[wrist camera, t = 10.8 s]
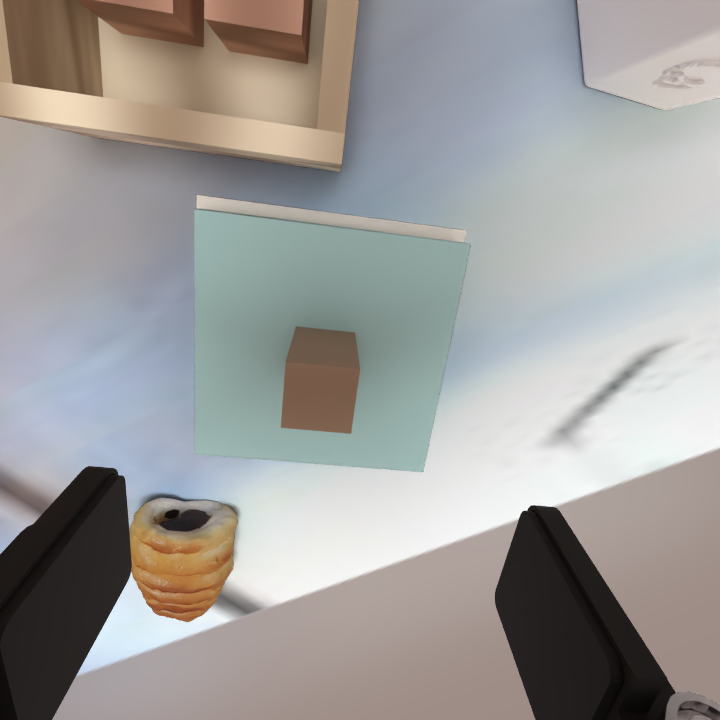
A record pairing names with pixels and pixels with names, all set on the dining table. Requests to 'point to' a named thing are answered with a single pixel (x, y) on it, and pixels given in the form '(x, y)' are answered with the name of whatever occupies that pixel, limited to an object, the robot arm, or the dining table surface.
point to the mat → (329, 218)
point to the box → (185, 73)
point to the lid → (319, 340)
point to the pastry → (182, 554)
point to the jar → (652, 49)
